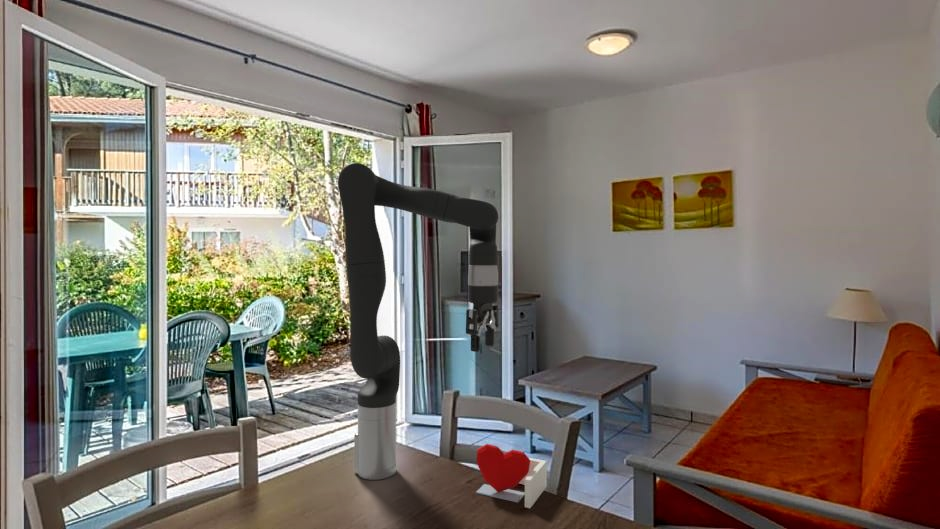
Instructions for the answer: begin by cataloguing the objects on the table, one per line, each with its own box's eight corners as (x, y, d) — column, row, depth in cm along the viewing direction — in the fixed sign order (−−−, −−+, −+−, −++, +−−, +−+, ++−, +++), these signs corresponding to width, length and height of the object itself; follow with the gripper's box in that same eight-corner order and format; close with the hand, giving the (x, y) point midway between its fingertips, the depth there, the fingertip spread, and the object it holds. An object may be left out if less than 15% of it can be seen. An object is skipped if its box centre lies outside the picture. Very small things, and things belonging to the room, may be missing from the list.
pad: (476, 493, 117) (476, 491, 117) (484, 485, 121) (484, 483, 121) (518, 502, 113) (518, 501, 113) (525, 494, 117) (525, 492, 117)
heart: (525, 493, 118) (532, 450, 118) (523, 502, 114) (530, 458, 113) (474, 481, 121) (480, 439, 120) (470, 489, 116) (476, 446, 116)
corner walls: (477, 496, 116) (477, 469, 115) (497, 476, 126) (497, 452, 126) (530, 508, 110) (530, 480, 110) (546, 486, 120) (546, 461, 120)
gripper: (484, 285, 122) (484, 355, 122) (507, 282, 134) (507, 345, 135) (456, 284, 125) (456, 352, 125) (481, 281, 138) (481, 342, 138)
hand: (482, 348), depth 130 cm, fingers open, 8 cm apart
